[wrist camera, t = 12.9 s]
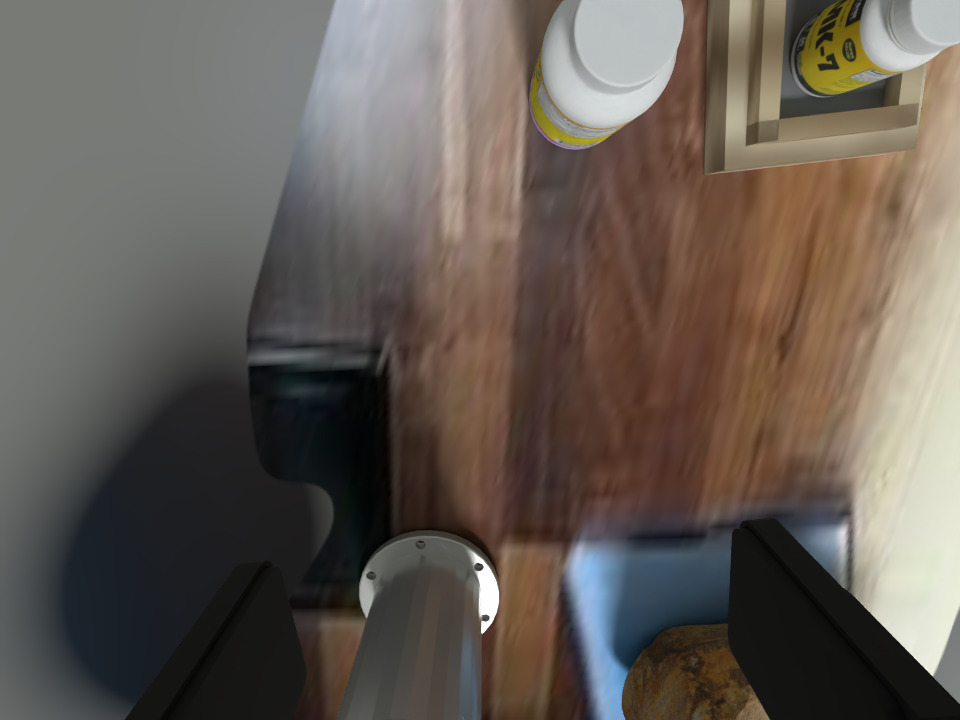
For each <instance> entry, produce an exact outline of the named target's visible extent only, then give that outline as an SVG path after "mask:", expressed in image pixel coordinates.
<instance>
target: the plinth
mask: <svg viewBox="0 0 960 720" xmlns="http://www.w3.org/2000/svg"><path fill="white" fill-rule="evenodd" d="M838 1H839V0H708V19H707V67H706V114H705V162H704V175H707V174H716V173H725V172H734V171H743V170H752V169H760V168H769V167H778V166H787V165H796V164H805V163H814V162H823V161H832V160H841V159H849V158H858V157H867V156H876V155H883V154H889V153H895V152H901V151H907V150H912V149H916V143H917V136H918V128H919V121H920V113H921V106H922V98H923V90H924V83H925V75H926V68H927V62H926V63H924V64H922V65H920V66H918V67H916V68H913V69H911V70H908V71H905V72H902V73H899V74H896V75H893V76H890V77H888V78H885V79H882V80H879V81H876V82H873V83H870V84H867V85H865V86H862V87H859V88H856V89H853V90H850V91H847V92H844V93H841V94H838V95H835V96H831V97H815V96H812V95H809V94H807V93H805V92H804V91H803V90H802V89H800V87H799V86H798V85H797V84H796V82H795V80H794V78H793V75H792V70H791V54H792V49H793V45H794V43H795V40H796V38H797V36H798V34H799V33H800V31H801V30H802V28H803V27H804V26H805V25H806V24H807V23H808V22H809V21H810V20H811V19H812V18H813V17H814V16H816V15H817V14H818V13H820V12H821V11H823V10H824V9H826V8H828V7H829V6H831V5H833V4H835V3H836V2H838Z"/></svg>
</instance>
